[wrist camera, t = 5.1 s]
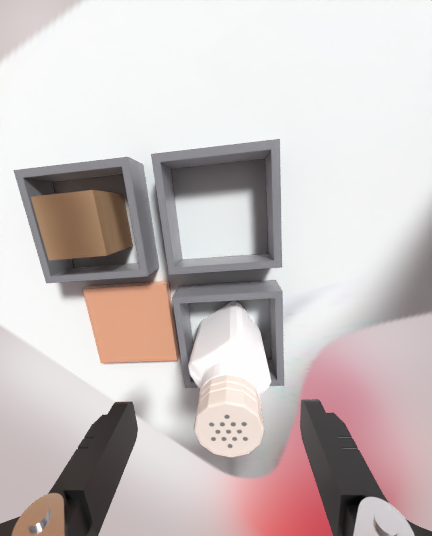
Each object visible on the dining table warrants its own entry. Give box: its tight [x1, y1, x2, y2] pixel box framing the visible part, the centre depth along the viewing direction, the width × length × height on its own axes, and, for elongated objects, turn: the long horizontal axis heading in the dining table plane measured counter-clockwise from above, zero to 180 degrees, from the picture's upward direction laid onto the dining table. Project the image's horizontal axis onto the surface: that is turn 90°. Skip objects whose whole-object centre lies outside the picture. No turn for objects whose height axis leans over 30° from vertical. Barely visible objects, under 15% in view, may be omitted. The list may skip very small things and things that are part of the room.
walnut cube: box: [31, 190, 133, 261], centre depth 16 cm, size 4×4×4 cm
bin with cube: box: [14, 157, 159, 283], centre depth 17 cm, size 8×8×2 cm
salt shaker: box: [188, 301, 271, 458], centre depth 15 cm, size 4×4×10 cm
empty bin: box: [151, 139, 282, 275], centre depth 16 cm, size 8×8×2 cm
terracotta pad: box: [83, 281, 179, 363], centre depth 20 cm, size 7×7×1 cm
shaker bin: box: [172, 280, 284, 388], centre depth 18 cm, size 8×8×2 cm
